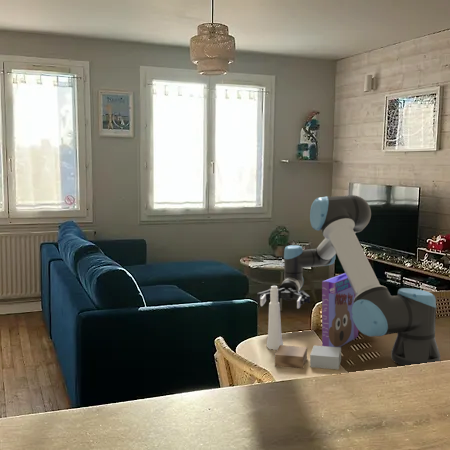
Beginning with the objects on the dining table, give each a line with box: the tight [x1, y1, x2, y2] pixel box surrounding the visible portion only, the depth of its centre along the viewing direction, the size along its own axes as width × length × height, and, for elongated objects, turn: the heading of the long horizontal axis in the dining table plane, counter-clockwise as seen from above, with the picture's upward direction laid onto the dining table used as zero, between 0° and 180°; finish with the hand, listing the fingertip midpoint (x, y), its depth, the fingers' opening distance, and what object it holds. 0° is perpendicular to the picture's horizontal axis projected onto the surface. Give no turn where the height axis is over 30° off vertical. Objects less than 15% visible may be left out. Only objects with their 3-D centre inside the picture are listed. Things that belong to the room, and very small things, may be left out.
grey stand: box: [309, 345, 342, 370], centre depth 183 cm, size 9×9×4 cm
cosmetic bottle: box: [266, 285, 284, 351], centre depth 198 cm, size 6×6×22 cm
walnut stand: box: [274, 344, 308, 370], centre depth 184 cm, size 9×9×4 cm
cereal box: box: [321, 272, 359, 348], centre depth 201 cm, size 17×5×24 cm, turn 139°
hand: (279, 303), depth 207 cm, fingers open, 13 cm apart
